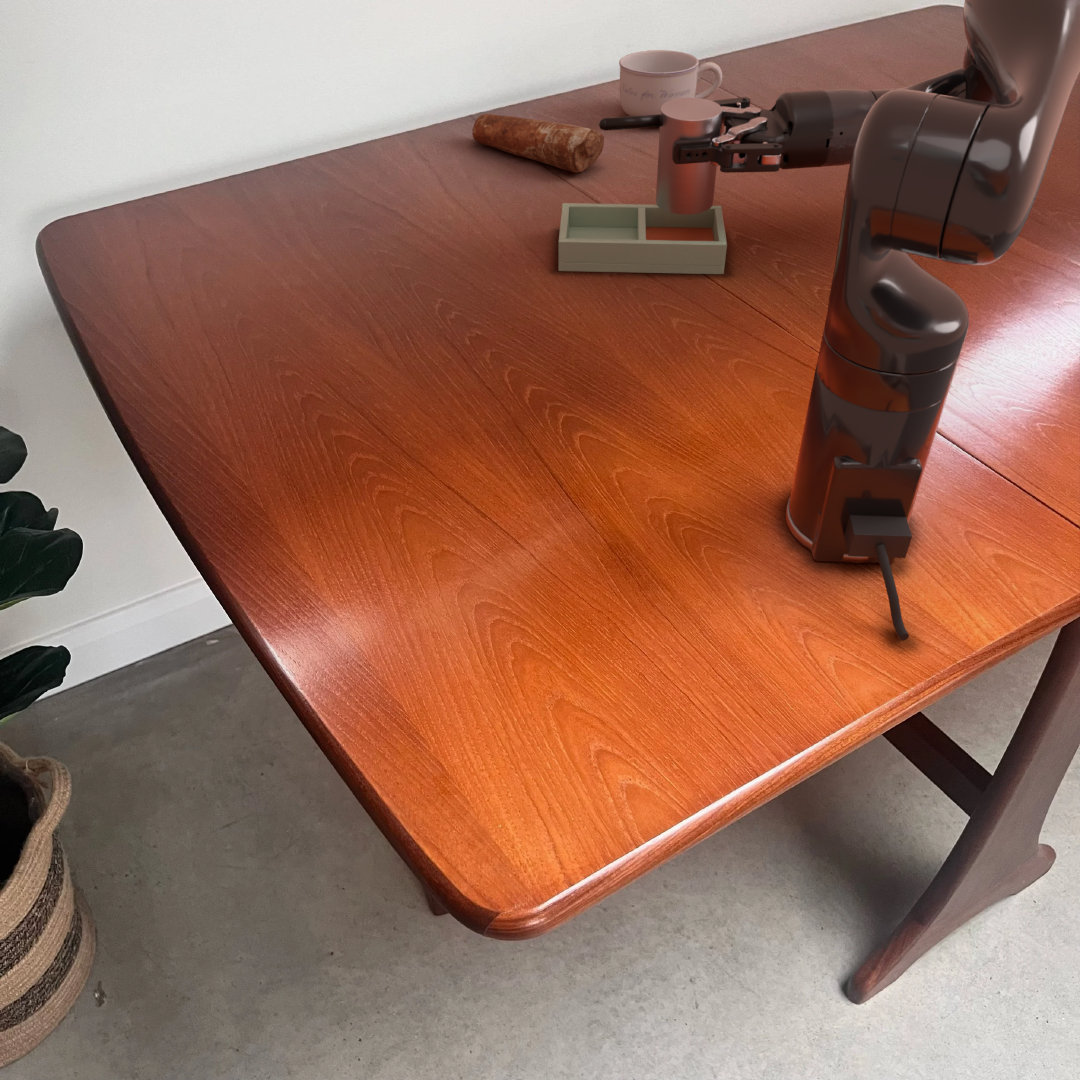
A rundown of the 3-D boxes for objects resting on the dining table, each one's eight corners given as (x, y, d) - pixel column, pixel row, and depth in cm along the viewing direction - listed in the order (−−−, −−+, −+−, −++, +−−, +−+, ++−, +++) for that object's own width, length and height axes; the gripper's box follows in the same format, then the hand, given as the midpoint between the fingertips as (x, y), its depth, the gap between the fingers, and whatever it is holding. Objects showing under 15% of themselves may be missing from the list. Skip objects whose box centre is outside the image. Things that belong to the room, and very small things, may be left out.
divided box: (723, 274, 113) (727, 244, 111) (558, 271, 114) (558, 241, 112) (718, 234, 120) (721, 205, 118) (562, 231, 121) (562, 202, 119)
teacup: (608, 129, 143) (610, 68, 138) (627, 100, 151) (629, 42, 145) (709, 139, 140) (715, 78, 135) (722, 110, 148) (729, 51, 142)
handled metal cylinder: (706, 187, 115) (714, 95, 109) (719, 212, 111) (728, 118, 104) (593, 195, 115) (594, 103, 108) (602, 221, 110) (603, 126, 103)
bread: (579, 183, 131) (580, 139, 127) (465, 147, 139) (462, 105, 135) (608, 166, 134) (610, 122, 130) (495, 132, 143) (493, 90, 139)
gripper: (808, 67, 112) (654, 77, 111) (852, 119, 101) (683, 130, 100) (798, 137, 117) (651, 147, 116) (839, 192, 106) (678, 204, 105)
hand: (666, 139), depth 108 cm, fingers closed on handled metal cylinder, 6 cm apart
